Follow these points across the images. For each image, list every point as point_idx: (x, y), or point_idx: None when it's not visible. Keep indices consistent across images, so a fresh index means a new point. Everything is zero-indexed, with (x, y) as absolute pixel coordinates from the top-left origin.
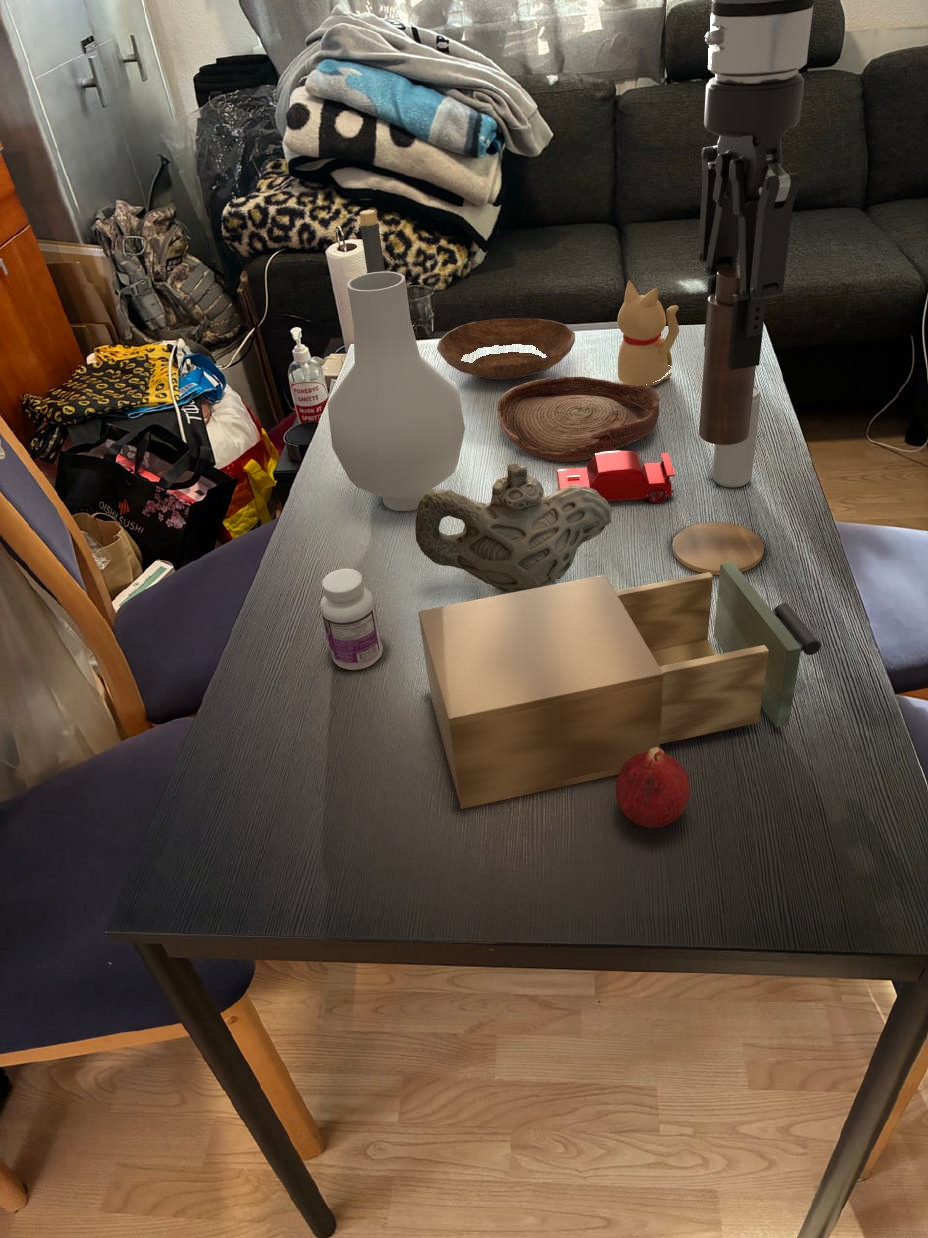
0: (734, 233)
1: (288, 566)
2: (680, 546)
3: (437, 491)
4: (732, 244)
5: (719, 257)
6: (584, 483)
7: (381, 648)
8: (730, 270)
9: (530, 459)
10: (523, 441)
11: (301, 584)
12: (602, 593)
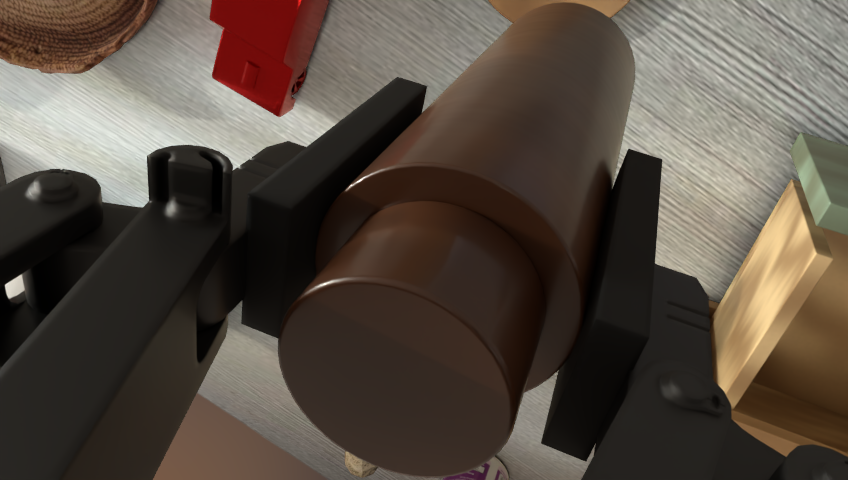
0: (122, 441)
1: (278, 430)
2: (517, 7)
3: (356, 466)
4: (159, 367)
5: (195, 367)
6: (275, 69)
7: (493, 462)
8: (350, 393)
9: (125, 47)
10: (76, 39)
11: (319, 438)
12: None
